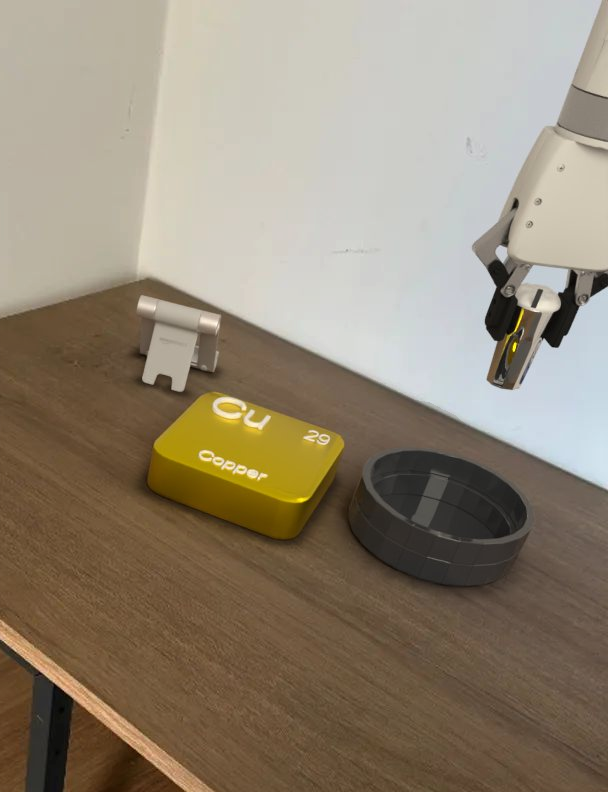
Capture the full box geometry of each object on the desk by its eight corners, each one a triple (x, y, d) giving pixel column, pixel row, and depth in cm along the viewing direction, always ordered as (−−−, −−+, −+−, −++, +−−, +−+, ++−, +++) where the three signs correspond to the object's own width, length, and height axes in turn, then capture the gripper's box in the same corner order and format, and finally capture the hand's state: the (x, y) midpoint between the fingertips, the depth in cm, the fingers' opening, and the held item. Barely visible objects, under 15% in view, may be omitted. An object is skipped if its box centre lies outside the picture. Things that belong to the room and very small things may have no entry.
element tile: (138, 489, 88) (146, 443, 85) (200, 424, 99) (209, 382, 96) (291, 547, 84) (305, 501, 81) (338, 474, 95) (352, 431, 92)
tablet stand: (215, 369, 109) (230, 297, 104) (200, 398, 103) (215, 323, 98) (143, 350, 110) (154, 278, 105) (124, 377, 104) (135, 302, 99)
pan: (484, 500, 95) (504, 457, 92) (534, 598, 84) (559, 552, 81) (333, 483, 94) (348, 438, 91) (364, 580, 82) (382, 532, 79)
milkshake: (475, 388, 90) (514, 282, 83) (481, 367, 94) (519, 264, 87) (524, 401, 89) (567, 295, 82) (529, 379, 93) (570, 276, 86)
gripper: (688, 121, 80) (593, 331, 92) (492, 94, 79) (422, 311, 91) (732, 146, 74) (624, 366, 86) (521, 117, 73) (442, 345, 85)
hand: (522, 336), depth 88 cm, fingers closed on milkshake, 4 cm apart
